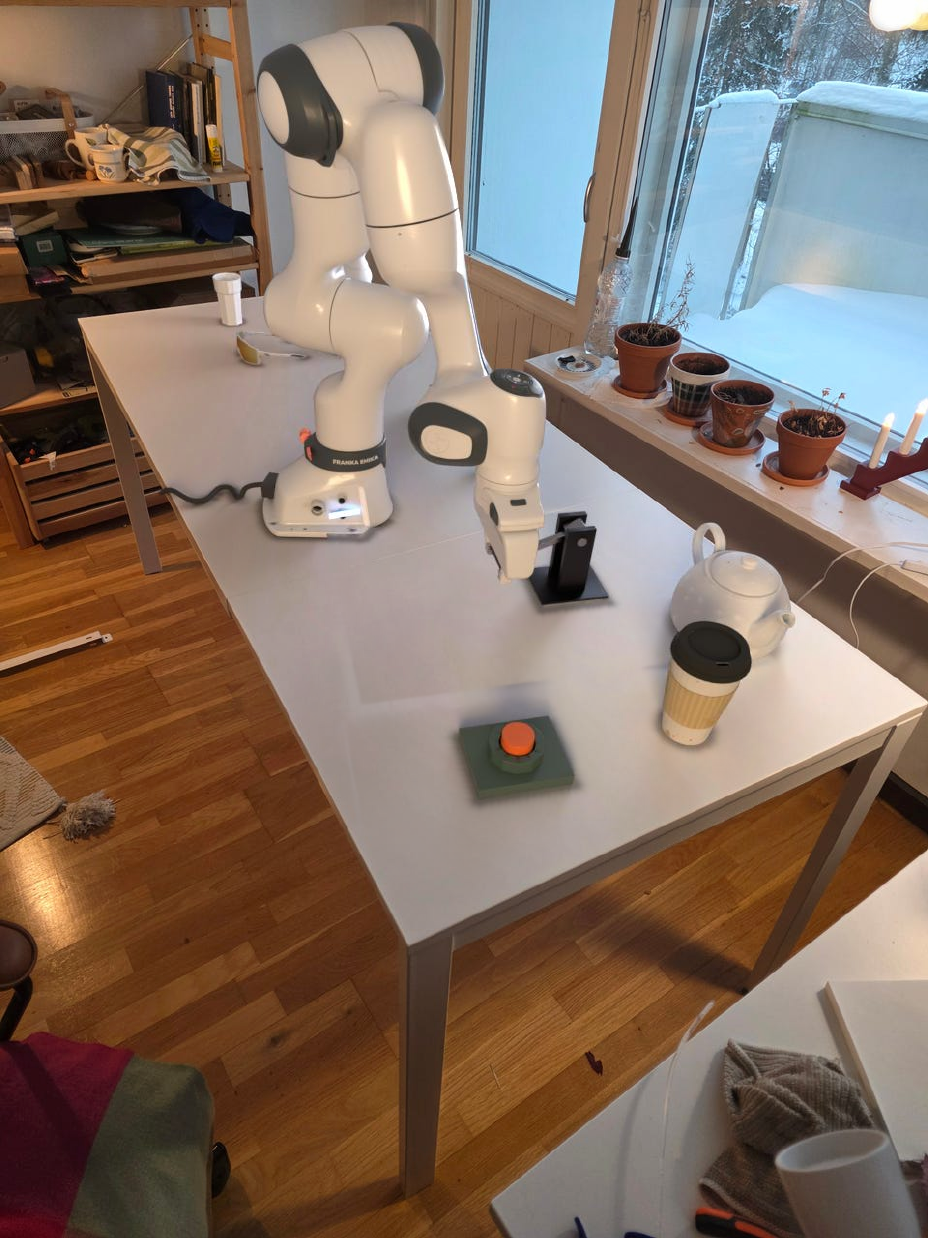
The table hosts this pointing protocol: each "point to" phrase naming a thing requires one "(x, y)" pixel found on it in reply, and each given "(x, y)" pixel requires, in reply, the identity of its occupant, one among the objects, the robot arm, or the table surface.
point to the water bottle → (358, 270)
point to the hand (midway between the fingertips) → (497, 566)
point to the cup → (229, 297)
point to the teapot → (733, 594)
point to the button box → (514, 760)
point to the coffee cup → (702, 679)
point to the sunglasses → (253, 354)
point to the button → (517, 739)
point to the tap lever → (551, 537)
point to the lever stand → (569, 566)
